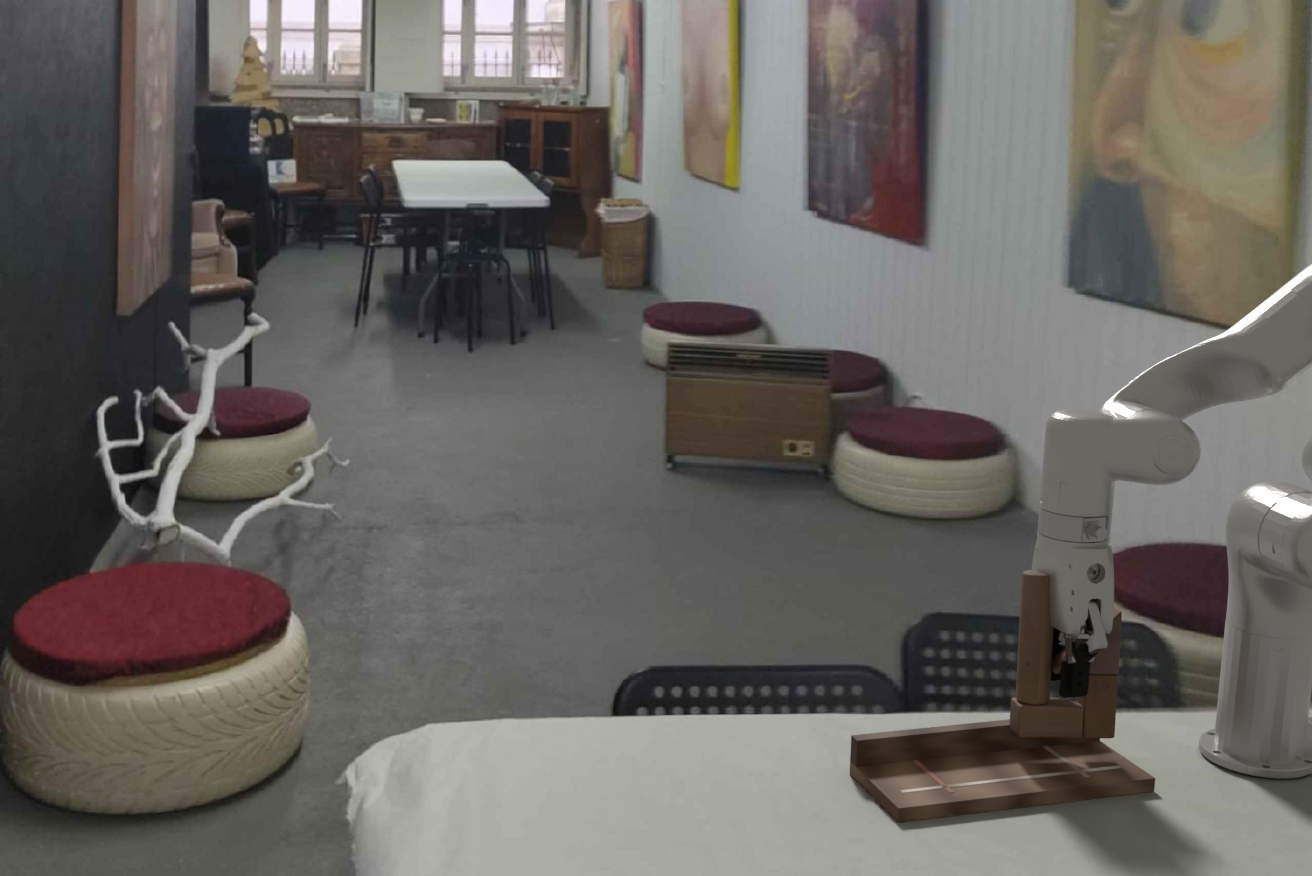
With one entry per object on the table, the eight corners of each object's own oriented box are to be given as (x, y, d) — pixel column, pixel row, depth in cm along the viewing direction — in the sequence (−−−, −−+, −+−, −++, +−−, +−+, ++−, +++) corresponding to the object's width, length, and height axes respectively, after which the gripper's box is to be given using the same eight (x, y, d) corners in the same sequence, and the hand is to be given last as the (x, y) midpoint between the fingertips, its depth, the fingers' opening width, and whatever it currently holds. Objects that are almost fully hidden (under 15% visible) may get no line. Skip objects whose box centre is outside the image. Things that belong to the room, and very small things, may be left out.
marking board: (1091, 748, 170) (1094, 710, 169) (1154, 791, 159) (1157, 751, 158) (849, 774, 161) (851, 735, 161) (897, 822, 150) (899, 780, 149)
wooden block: (1115, 739, 161) (1124, 576, 159) (1018, 739, 161) (1026, 575, 159) (1103, 729, 165) (1112, 569, 163) (1008, 728, 164) (1016, 568, 162)
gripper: (1151, 544, 152) (1135, 713, 155) (1062, 506, 168) (1050, 660, 171) (1087, 548, 150) (1072, 719, 153) (1003, 508, 166) (991, 664, 169)
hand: (1060, 686), depth 162 cm, fingers closed on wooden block, 4 cm apart
